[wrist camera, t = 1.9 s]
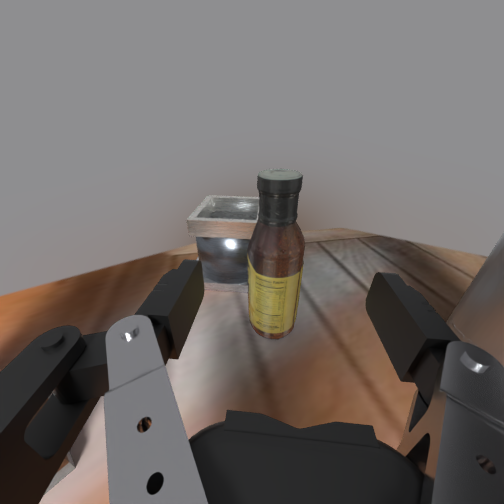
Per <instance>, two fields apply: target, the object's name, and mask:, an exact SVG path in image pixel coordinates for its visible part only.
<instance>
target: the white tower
mask: <svg viewBox="0 0 504 504" xmlns="http://www.w3.org/2000/svg"><path fill="white" fill-rule="evenodd" d="M50 397H51V395H49V397H48V398H47V399H46V401H45V402H44V403H43V405H42V406H41V407H40V408H39V410H38V411H37V412H36V414H35V415H34V416H33V418H32V419H31V420H30V422H29V424H30V423H31V422H32V420H33V419H34V418H35V416H36V415H37V414H38V413H39V411H40V410H41V409H42V407H43V406H44V405H45V403H46V402H47V401H48V399H49V398H50ZM29 424H28V425H27V427H28V426H29ZM74 469H75V466H74V463H73V460H72V457H71V454H70V451H69V452H68V454H67V455H66V457H65V459H64V461H63V462H62V464H61V466H60V468H59V469H58V471H57V473H56V474H55V476H54V478H53V480H52V481H51V483H50V485H49V487H48V488H47V490H46V492H45V493H47V492H48V491H49V490H50V489H51V488H52V487H54V486H55V485H56V484H57V483H58V482H60V481H61V480H62V479H63V478H64V477H65V476H67V475H68V474H69V473H70V472H71V471H72V470H74ZM45 493H44V494H45Z"/></svg>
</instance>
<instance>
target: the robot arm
mask: <svg viewBox="0 0 504 504" xmlns="http://www.w3.org/2000/svg"><path fill="white" fill-rule="evenodd" d="M203 296H204V278H203V269H202V263H201V261H200V260H183V262H182V263H181V265H180V266H179V268H178V269H172V270H170V271H169V272H168V273H166V274H165V275H163V277H162V278H161V279H160V281H159V282H158V285H156V286H155V287H154V289H153V291H152V292H151V293H150V294H149V296H148V297H147V298H146V300H145V301H144V303H143V304H142V305H141V307H140V308H139V309H138V311H137V312H136V313H135V315H132V316H128V317H125V318H123V319H121V320H119V321H118V322H116V323H115V324H114V325H112V326H111V327H110V329H109V330H108V331H106V332H100V333H94V334H89V335H83V336H82V334H81V332H80V331H79V329H78V328H77V327H75V326H61V327H57V328H54V329H51V330H49V331H47V332H45V333H43V334H42V335H40V336H39V337H37V338H36V339H35V340H33V341H32V342H31V343H30V344H29V345H28V346H27V347H26V348H25V349H24V350H23V351H22V352H21V353H20V354H19V355H18V356H17V357H16V358H15V359H14V360H13V361H12V362H10V363H9V364H8V365H7V366H6V367H5V368H4V369H3V370H2V371H1V372H0V504H39V502H40V500H41V499H42V497H43V495H44V493H45V492H46V490H47V488H48V487H49V485H50V483H51V481H52V480H53V478H54V476H55V474H56V473H57V471H58V469H59V468H60V466H61V464H62V462H63V461H64V459H65V457H66V455H67V454H68V452H69V450H70V449H71V447H72V445H73V443H74V442H75V440H76V438H77V436H78V435H79V433H80V431H81V430H82V428H83V426H84V424H85V423H86V421H87V419H88V417H89V416H90V414H91V412H92V410H93V409H94V407H95V405H96V404H97V402H98V400H99V398H100V397H101V396H104V412H105V430H106V448H107V465H108V483H109V501H110V504H504V233H503V235H502V236H501V238H500V239H499V241H498V242H497V244H496V245H495V247H494V248H493V250H492V252H491V253H490V255H489V256H488V258H487V259H486V261H485V262H484V264H483V265H482V267H481V269H480V270H479V272H478V273H477V275H476V276H475V278H474V279H473V281H472V282H471V284H470V286H469V287H468V289H467V290H466V292H465V293H464V295H463V296H462V298H461V300H460V301H459V303H458V304H457V306H456V307H455V309H454V310H453V312H452V313H451V315H450V317H449V318H448V320H447V321H446V322H445V321H444V320H443V319H442V318H441V317H440V315H439V314H438V313H436V312H435V310H434V308H433V307H432V306H431V305H429V303H428V301H427V300H426V299H425V298H424V297H423V296H422V294H421V293H419V292H418V291H416V290H415V289H413V288H412V287H411V286H408V285H406V284H405V282H404V281H403V280H402V279H401V277H400V276H399V275H398V274H396V273H381V272H378V273H376V274H375V276H374V278H373V281H372V284H371V287H370V290H369V292H368V295H367V298H366V310H367V313H368V315H369V317H370V319H371V321H372V323H373V325H374V327H375V329H376V332H377V334H378V336H379V338H380V340H381V342H382V344H383V346H384V348H385V350H386V352H387V354H388V356H389V358H390V360H391V362H392V364H393V366H394V369H395V371H396V373H397V375H398V377H399V379H400V381H402V382H413V383H415V384H416V386H417V390H416V391H415V393H414V397H413V400H412V404H411V408H410V412H409V415H408V419H407V423H406V427H405V430H404V434H403V437H402V440H401V442H400V444H399V446H398V448H397V450H395V449H393V448H392V447H390V446H389V445H387V444H385V443H383V442H381V441H379V440H377V439H376V436H375V432H374V429H373V426H371V425H361V424H352V423H343V422H332V423H327V424H322V425H317V426H312V427H307V428H302V429H299V428H295V427H293V426H290V425H288V424H285V423H283V422H280V421H278V420H276V419H273V418H271V417H268V416H266V415H264V414H260V413H251V412H242V411H232V410H227V413H226V419H225V421H223V422H219V423H216V424H213V425H210V426H208V427H206V428H204V429H202V430H201V431H199V432H198V433H196V434H195V435H194V436H192V437H191V438H190V439H189V440H188V438H187V434H186V431H185V428H184V425H183V422H182V418H181V415H180V412H179V409H178V406H177V402H176V399H175V396H174V393H173V390H172V386H171V383H170V380H169V377H168V374H167V370H166V367H165V365H166V363H167V361H168V359H169V358H170V359H178V358H179V356H180V354H181V351H182V349H183V346H184V344H185V341H186V339H187V336H188V334H189V332H190V329H191V327H192V324H193V322H194V319H195V317H196V314H197V312H198V310H199V307H200V305H201V302H202V300H203ZM51 393H53V394H52V395H51V397H50V398H49V399H48V401H47V402H46V403H45V405H44V406H43V407H42V409H41V410H40V411H39V413H38V414H37V415H36V416H35V418H34V419H33V420H32V422H31V423H30V424H29V422H30V420H31V419H32V418H33V416H34V415H35V414H36V412H37V411H38V410H39V408H40V407H41V406H42V405H43V403H44V402H45V401H46V399H47V398H48V397H49V395H50V394H51ZM28 424H29V426H28V427H27V425H28Z"/></svg>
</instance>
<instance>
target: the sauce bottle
mask: <svg viewBox="0 0 504 504" xmlns="http://www.w3.org/2000/svg"><path fill="white" fill-rule="evenodd" d="M302 178H303V175H302V174H301V173H300V172H298V171H295V170H288V169H273V170H264V171H261V172H259V174H258V181H257V188H258V190H259V213H258V220H257V223H256V226H255V228H254V231H253V234H252V236H251V239H250V242H249V245H248V248H247V259H248V299H249V317H250V322H251V324H252V327H253V328H254V330H255V331H256V332H257V333H258V334H259V335H261V336H263V337H265V338H270V339H279V338H282V337H284V336H286V335H287V334H288V333H290V332H291V331H292V329H293V327H294V322H295V320H296V315H297V308H298V301H299V293H300V286H301V278H302V271H303V264H304V262H303V255H304V248H305V241H304V237H303V234H302V232H301V229H300V228H299V226H298V224H297V222H296V219H297V206H298V197H299V192H300V190H301V187H302Z"/></svg>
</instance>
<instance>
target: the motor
mask: <svg viewBox="0 0 504 504" xmlns="http://www.w3.org/2000/svg"><path fill="white" fill-rule="evenodd" d="M213 211H214V212H213ZM258 213H259V197H239V196H209V195H208V196H207V197H206V198H205V200H204V201H203V202H202V203H201V204H200V205H199V206H198V207H197V208H196V210H195V211H194V212H193V213H192V214H191V215H190V217H189V218H188V219H187V227H188V233H189V236H193V237H194V236H195V237H196V242H197V250H198V258H197V260H200V261H201V263H202V269H203V278H204V290H216V291H231V292H246V293H248V259H247V248H248V245H249V242H250V239H251V236H252V234H253V231H254V228H255V226H256V223H257V220H258Z"/></svg>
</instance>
